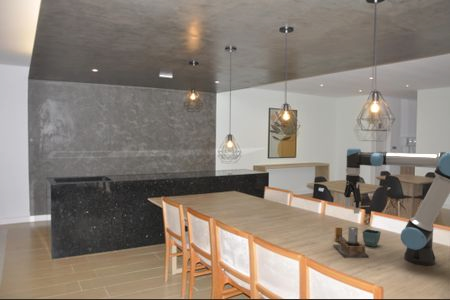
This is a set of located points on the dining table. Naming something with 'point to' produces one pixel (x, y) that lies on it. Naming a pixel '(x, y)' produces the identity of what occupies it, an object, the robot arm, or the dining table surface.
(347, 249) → the dock
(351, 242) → the grey metal cylinder
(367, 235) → the flower pot
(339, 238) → the lock pin
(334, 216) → the dining table surface
